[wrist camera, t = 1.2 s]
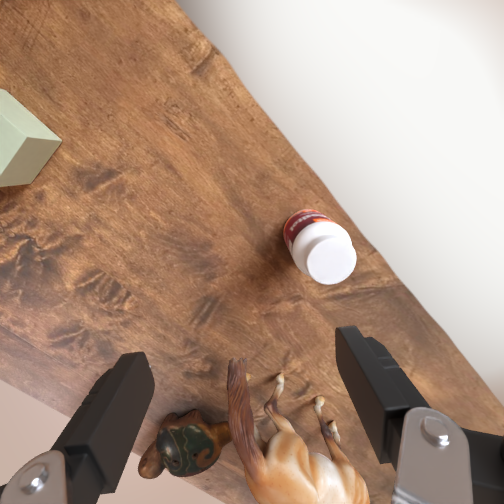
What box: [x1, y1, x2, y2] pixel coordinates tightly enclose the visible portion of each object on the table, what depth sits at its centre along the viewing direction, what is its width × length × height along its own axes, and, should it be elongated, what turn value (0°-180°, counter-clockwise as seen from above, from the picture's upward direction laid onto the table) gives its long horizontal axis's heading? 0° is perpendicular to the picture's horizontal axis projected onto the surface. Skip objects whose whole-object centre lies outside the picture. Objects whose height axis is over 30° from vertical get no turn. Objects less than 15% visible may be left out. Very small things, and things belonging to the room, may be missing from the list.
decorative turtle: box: [138, 409, 232, 479], centre depth 41 cm, size 10×15×8 cm, turn 106°
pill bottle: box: [284, 209, 356, 284], centre depth 28 cm, size 6×6×11 cm
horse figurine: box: [227, 358, 370, 504], centre depth 33 cm, size 31×8×21 cm, turn 51°
